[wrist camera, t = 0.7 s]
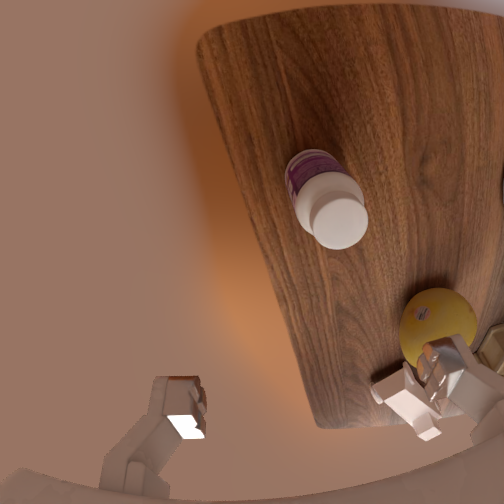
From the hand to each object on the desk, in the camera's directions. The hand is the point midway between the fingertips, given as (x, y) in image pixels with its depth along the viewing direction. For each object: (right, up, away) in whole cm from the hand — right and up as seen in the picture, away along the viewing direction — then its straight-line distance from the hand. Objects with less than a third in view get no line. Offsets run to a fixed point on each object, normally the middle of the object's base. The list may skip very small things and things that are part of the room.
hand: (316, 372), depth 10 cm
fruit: (+21, -3, +29) cm, 36 cm away
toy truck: (+27, -22, +41) cm, 54 cm away
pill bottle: (+3, +11, +19) cm, 22 cm away
